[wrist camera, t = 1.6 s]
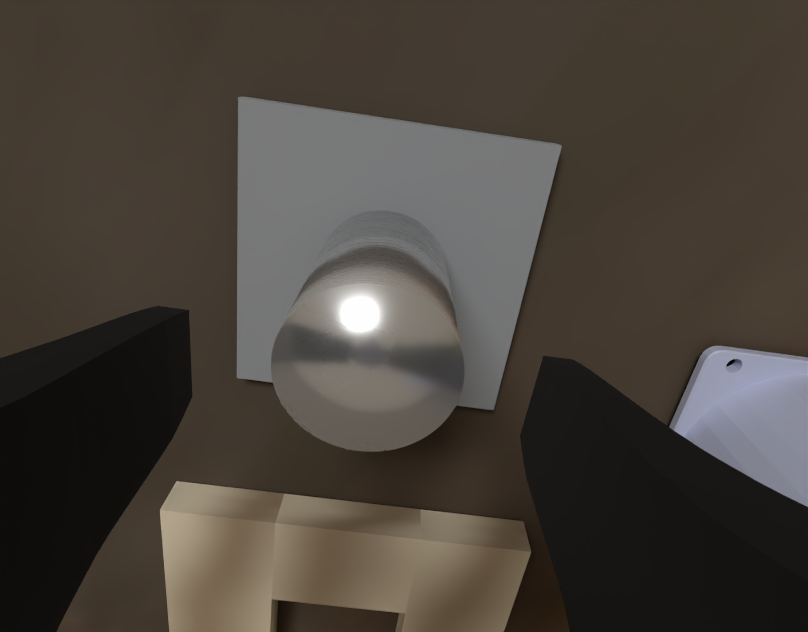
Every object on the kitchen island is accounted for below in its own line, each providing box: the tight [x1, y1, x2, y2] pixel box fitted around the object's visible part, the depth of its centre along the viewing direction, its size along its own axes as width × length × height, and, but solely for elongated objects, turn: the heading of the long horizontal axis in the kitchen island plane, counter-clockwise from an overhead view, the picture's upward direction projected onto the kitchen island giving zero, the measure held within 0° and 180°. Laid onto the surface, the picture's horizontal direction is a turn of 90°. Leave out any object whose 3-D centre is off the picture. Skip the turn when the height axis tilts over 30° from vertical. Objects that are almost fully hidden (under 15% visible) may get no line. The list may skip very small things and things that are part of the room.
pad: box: [237, 96, 562, 410], centre depth 16 cm, size 9×9×1 cm
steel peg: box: [271, 210, 464, 452], centre depth 13 cm, size 4×4×6 cm
